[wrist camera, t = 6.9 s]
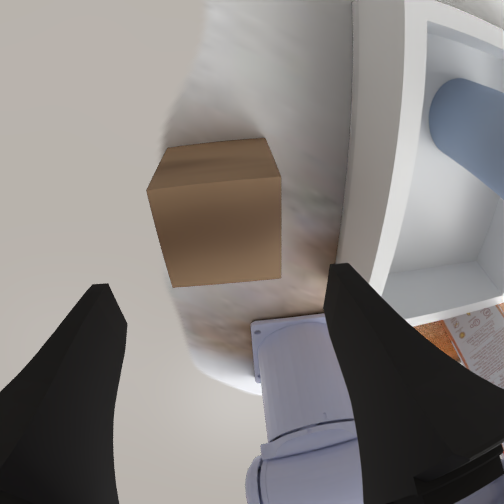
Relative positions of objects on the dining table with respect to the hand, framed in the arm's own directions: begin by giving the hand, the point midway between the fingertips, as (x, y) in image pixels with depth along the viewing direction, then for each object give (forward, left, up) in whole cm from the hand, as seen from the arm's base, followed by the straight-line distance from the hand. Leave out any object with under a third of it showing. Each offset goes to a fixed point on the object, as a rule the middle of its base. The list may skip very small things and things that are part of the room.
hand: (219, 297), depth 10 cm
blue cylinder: (+4, -14, -7) cm, 16 cm away
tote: (+1, -14, -8) cm, 16 cm away
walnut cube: (0, 0, -8) cm, 8 cm away
